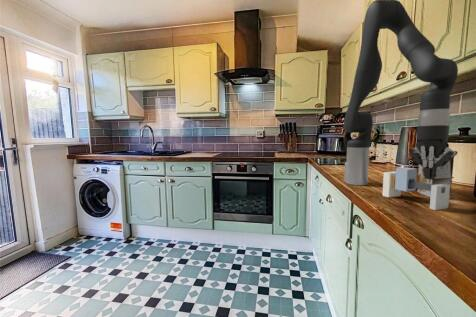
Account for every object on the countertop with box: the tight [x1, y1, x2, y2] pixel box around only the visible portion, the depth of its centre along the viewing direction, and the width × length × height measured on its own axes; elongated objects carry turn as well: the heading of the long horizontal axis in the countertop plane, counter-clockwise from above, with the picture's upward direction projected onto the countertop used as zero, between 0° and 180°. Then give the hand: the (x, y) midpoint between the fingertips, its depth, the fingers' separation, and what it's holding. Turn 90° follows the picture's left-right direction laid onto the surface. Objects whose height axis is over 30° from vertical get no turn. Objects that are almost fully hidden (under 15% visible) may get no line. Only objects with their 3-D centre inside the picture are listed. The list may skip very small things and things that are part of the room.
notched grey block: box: [395, 167, 418, 193], centre depth 79 cm, size 4×5×8 cm
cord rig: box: [382, 170, 450, 211], centre depth 77 cm, size 18×6×9 cm, turn 18°
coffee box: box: [416, 152, 455, 200], centre depth 84 cm, size 9×6×16 cm
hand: (429, 178), depth 72 cm, fingers closed
